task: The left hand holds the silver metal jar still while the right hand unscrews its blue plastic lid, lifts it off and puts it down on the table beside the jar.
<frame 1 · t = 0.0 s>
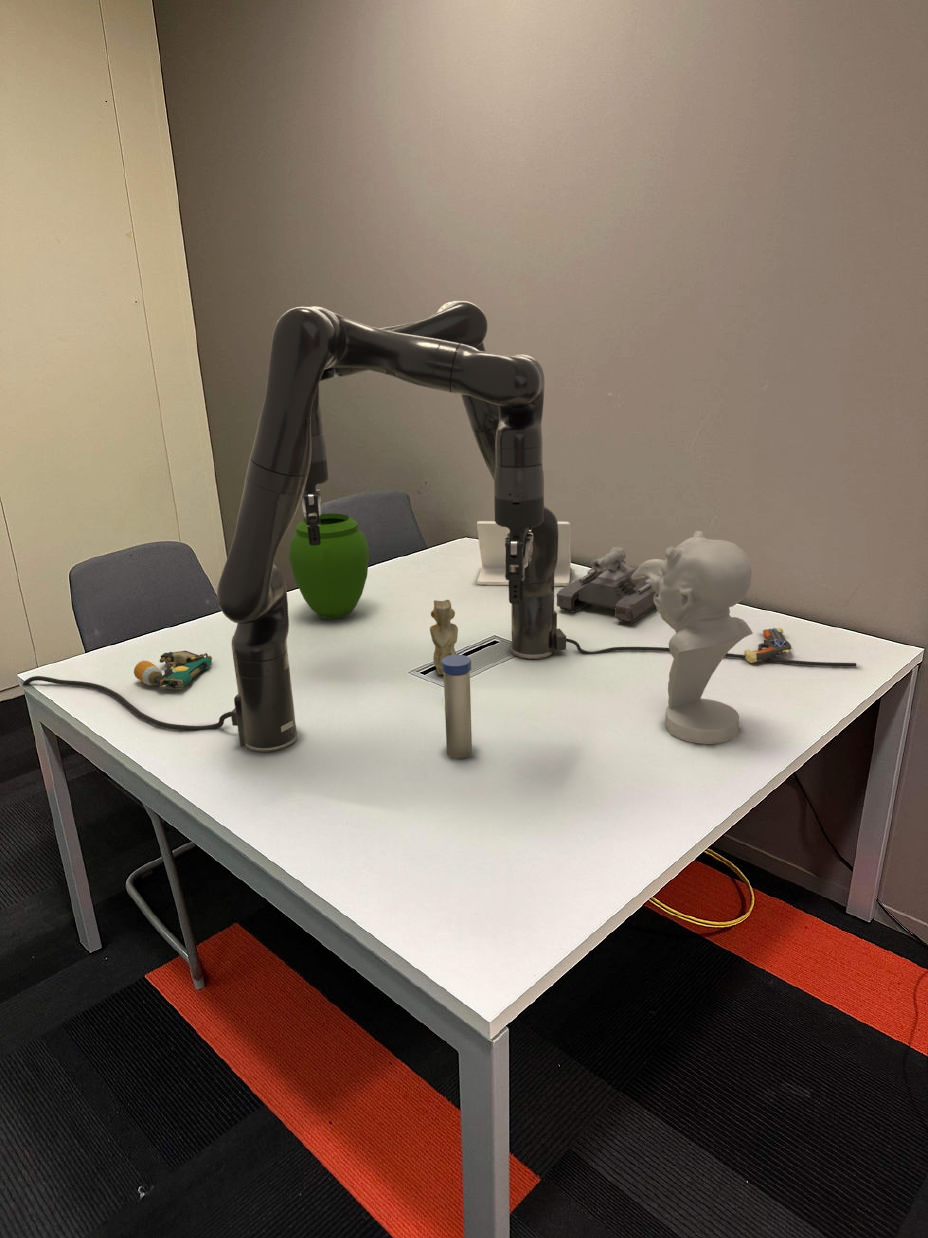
left hand: (519, 594, 135), 29 cm above the table, tool pointing down, fingers open, 8 cm apart
right hand: (314, 539, 170), 29 cm above the table, tool pointing down, fingers open, 8 cm apart
lid: (456, 662, 141), point 17 cm above the table, screwed on, not yet turned
vase: (334, 614, 214), on the table
jar: (459, 752, 147), on the table
bust sculpture: (681, 722, 155), on the table
sculpture: (445, 671, 180), on the table
toy: (615, 605, 214), on the table
tablet stand: (525, 575, 239), on the table
toy gun: (765, 649, 186), on the table
spray gun: (177, 676, 181), on the table
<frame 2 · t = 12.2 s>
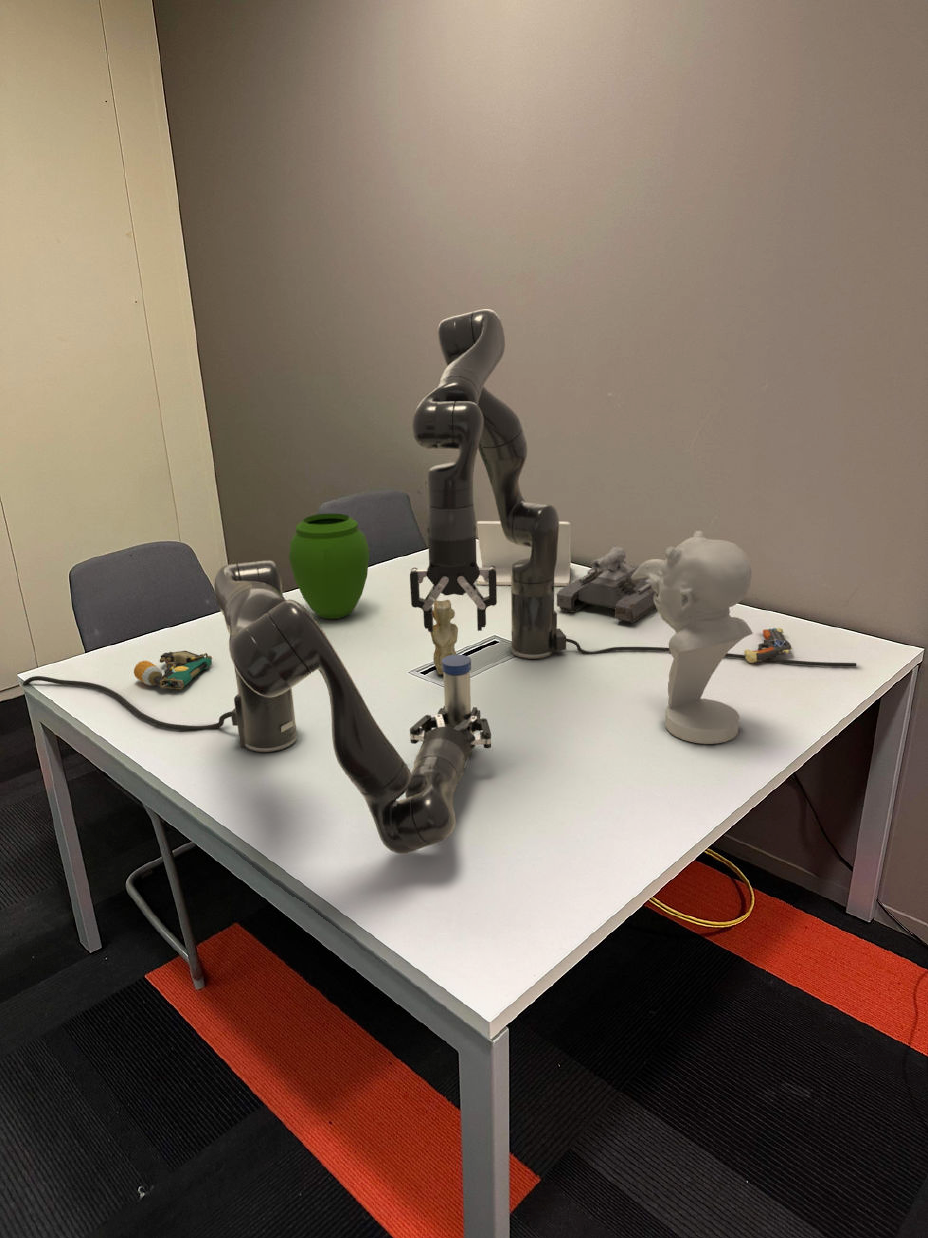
left hand: (460, 711, 147), 7 cm above the table, tool horizontal, fingers closed on jar, 4 cm apart
right hand: (455, 629, 139), 23 cm above the table, tool pointing down, fingers open, 7 cm apart
jar: (459, 752, 147), on the table, touching left hand
everything else where it was.
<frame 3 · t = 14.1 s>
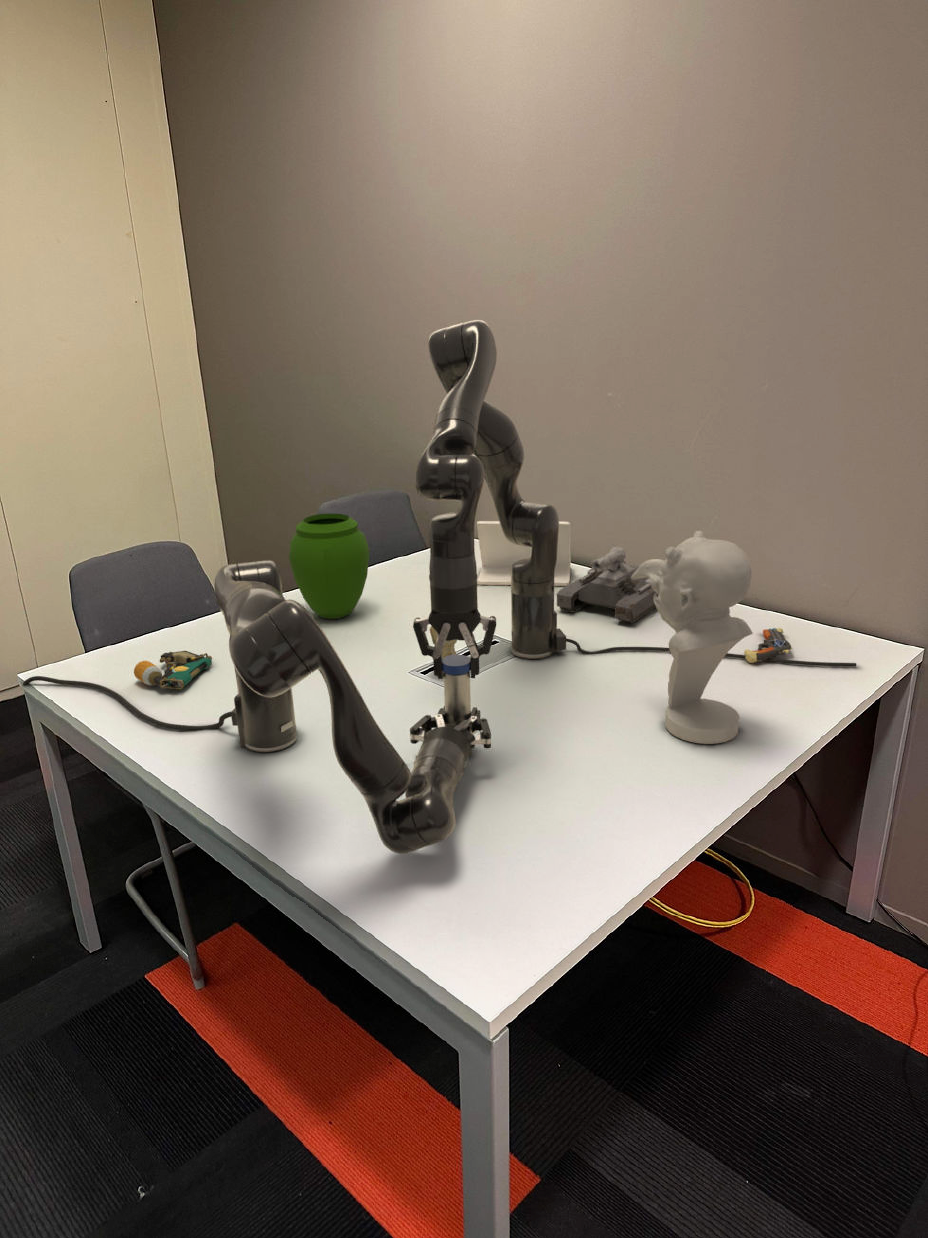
left hand: (460, 711, 147), 7 cm above the table, tool horizontal, fingers closed on jar, 4 cm apart
right hand: (456, 676, 142), 14 cm above the table, tool pointing down, fingers closed on lid, 4 cm apart
lid: (456, 662, 141), point 17 cm above the table, screwed on, not yet turned, touching right hand
jar: (459, 752, 147), on the table, touching left hand
everything else where it was.
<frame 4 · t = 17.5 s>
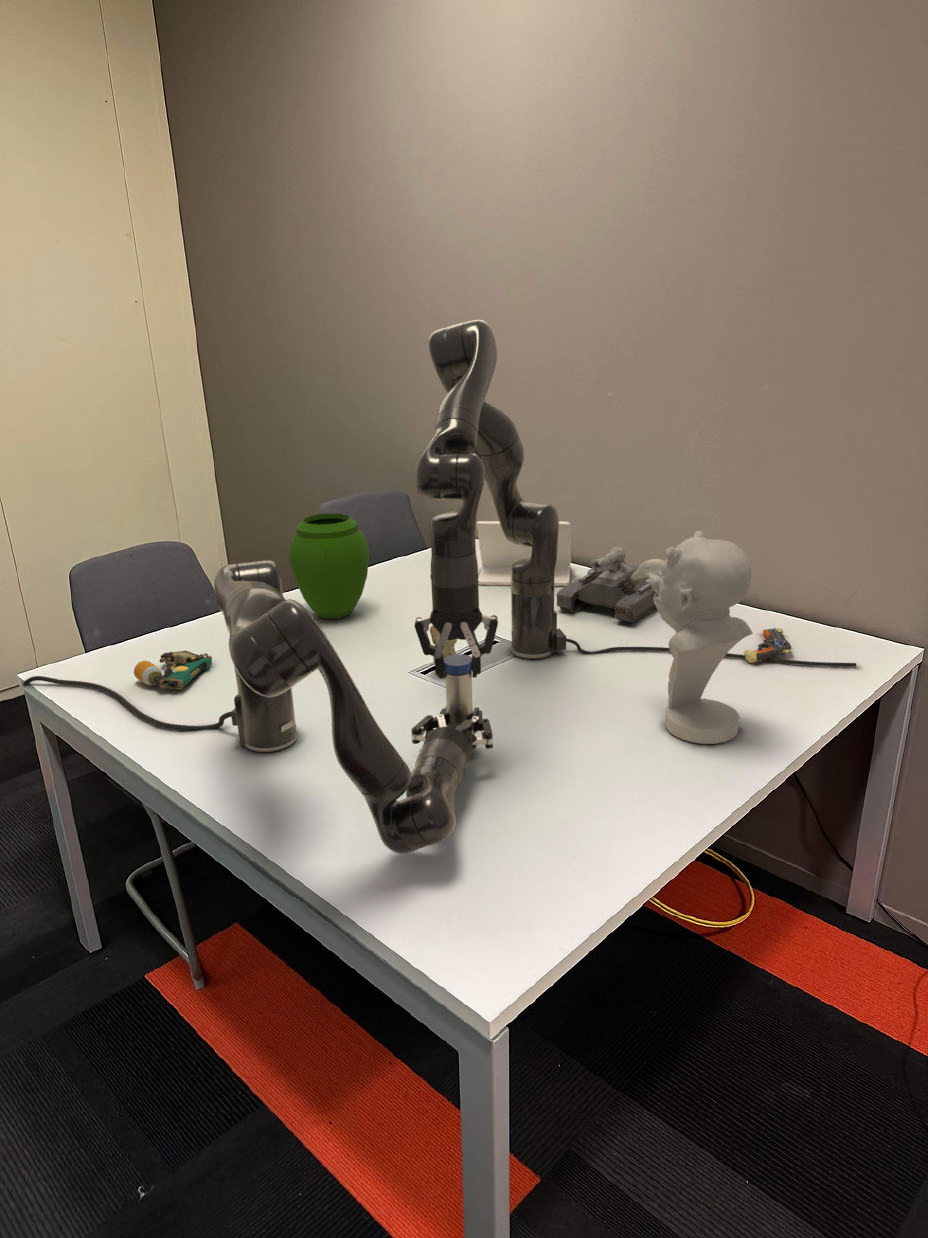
left hand: (462, 711, 147), 7 cm above the table, tool horizontal, fingers closed on jar, 4 cm apart
right hand: (458, 675, 142), 15 cm above the table, tool pointing down, fingers closed on lid, 4 cm apart
lid: (457, 661, 141), point 17 cm above the table, turned 80° so far, risen 0.1 cm, still on its thread, touching right hand
jar: (461, 753, 147), on the table, touching left hand
everything else where it was.
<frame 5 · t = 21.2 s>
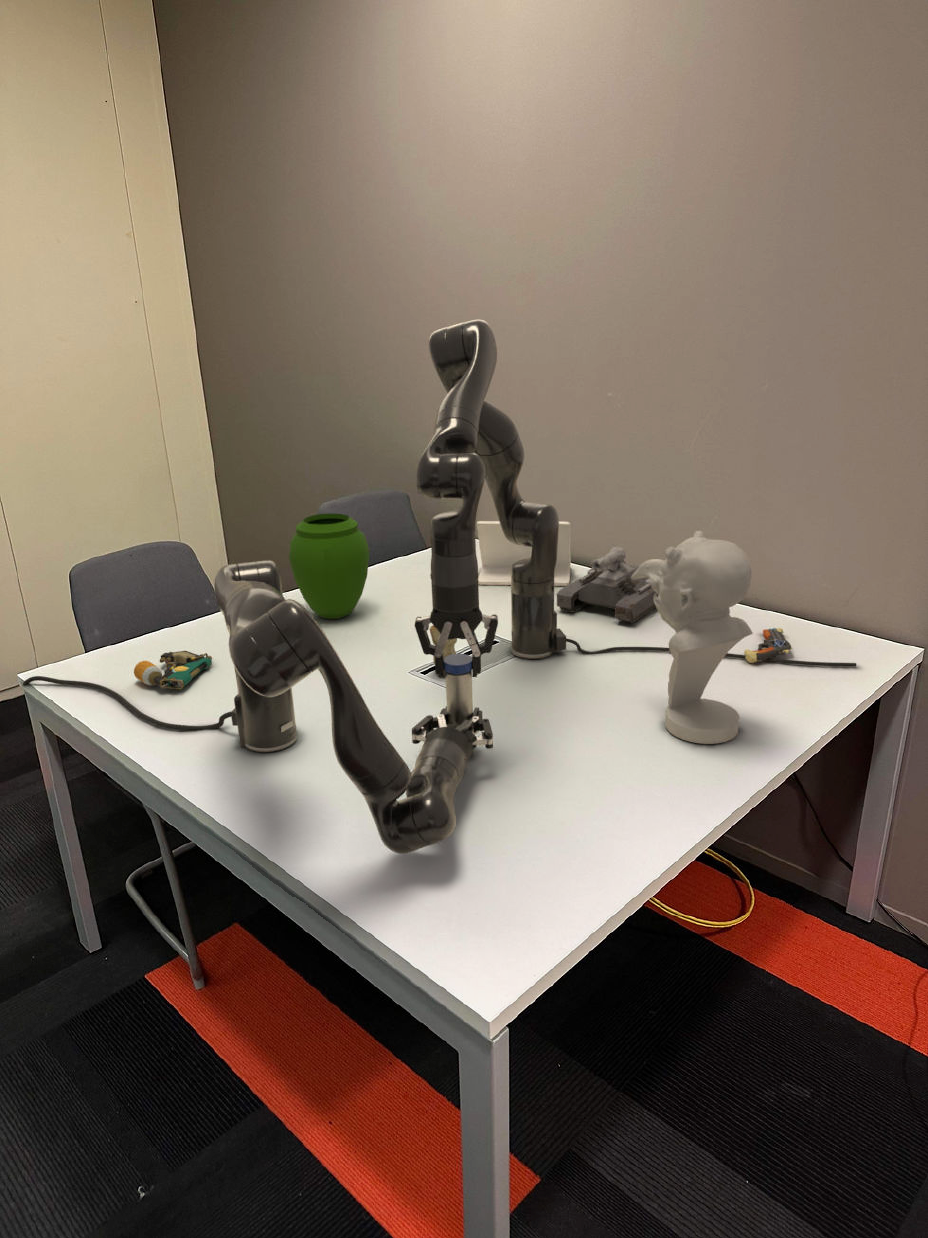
left hand: (463, 711, 147), 7 cm above the table, tool horizontal, fingers closed on jar, 4 cm apart
right hand: (458, 675, 142), 15 cm above the table, tool pointing down, fingers closed on lid, 4 cm apart
lid: (458, 661, 141), point 17 cm above the table, turned 159° so far, risen 0.2 cm, still on its thread, touching right hand
jar: (461, 753, 147), on the table, touching left hand
everything else where it was.
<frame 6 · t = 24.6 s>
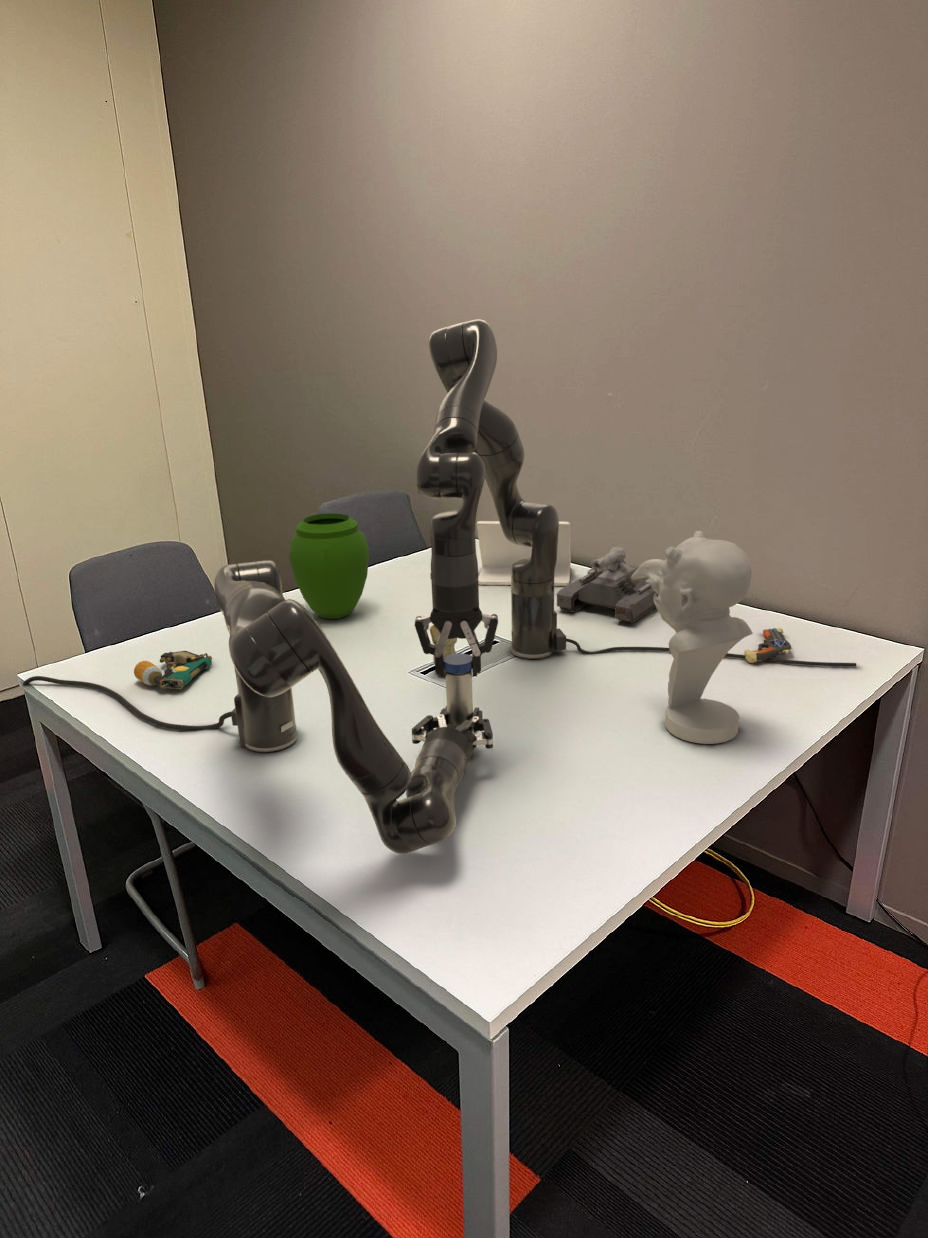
left hand: (463, 711, 147), 7 cm above the table, tool horizontal, fingers closed on jar, 4 cm apart
right hand: (458, 674, 142), 15 cm above the table, tool pointing down, fingers closed on lid, 4 cm apart
lid: (458, 660, 141), point 17 cm above the table, turned 239° so far, risen 0.3 cm, still on its thread, touching right hand
jar: (461, 753, 147), on the table, touching left hand
everything else where it was.
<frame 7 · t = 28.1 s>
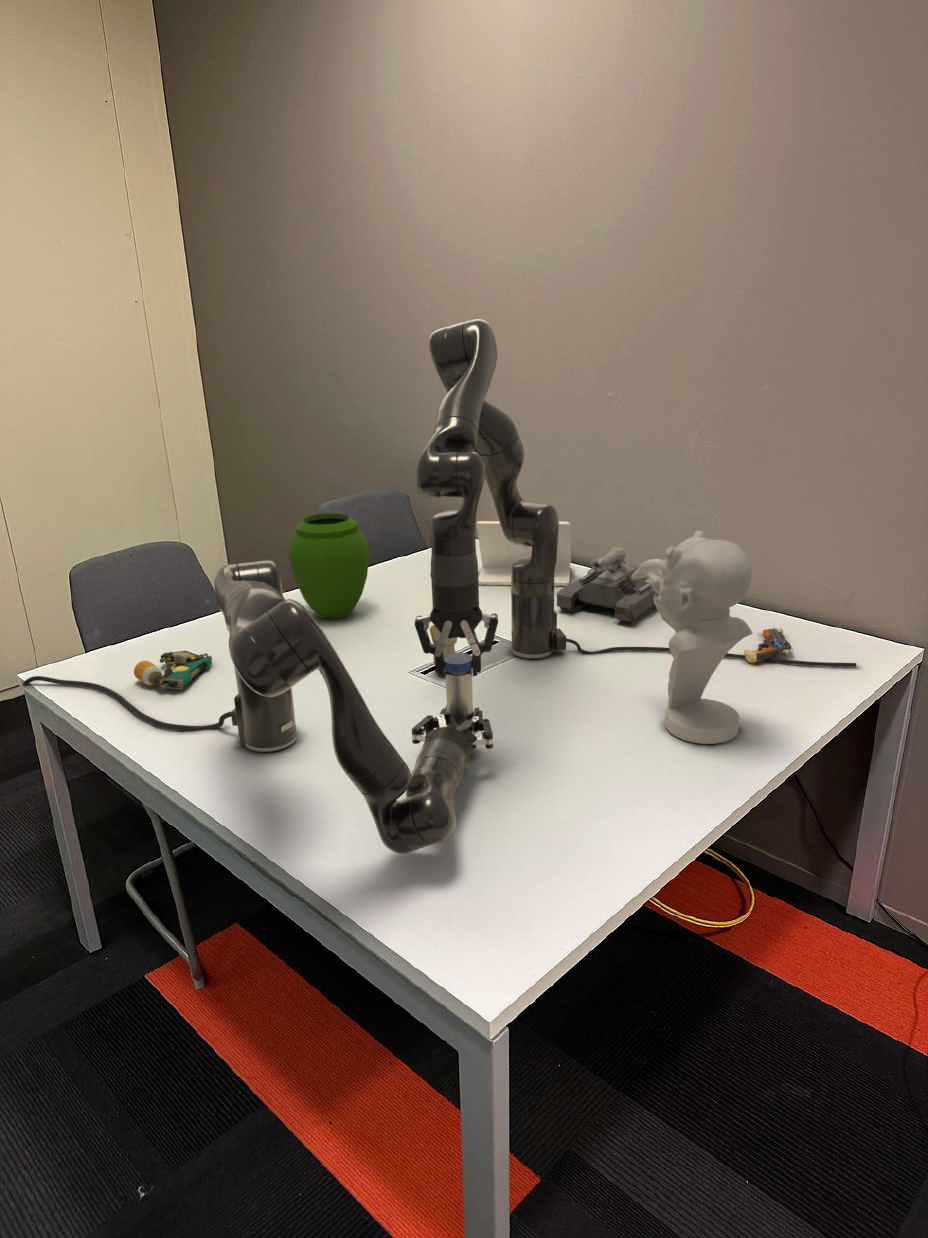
left hand: (463, 711, 147), 7 cm above the table, tool horizontal, fingers closed on jar, 4 cm apart
right hand: (458, 674, 142), 15 cm above the table, tool pointing down, fingers closed on lid, 4 cm apart
lid: (458, 660, 141), point 17 cm above the table, turned 318° so far, risen 0.4 cm, still on its thread, touching right hand
jar: (461, 753, 147), on the table, touching left hand
everything else where it was.
when the right hand's fingers open (0 cm above the table, at t = 37.7 s): lid drops 2 cm, point 1 cm above the table.
when the left hand's fingers open (7 cm above the table, at t = 38.8 s): jar stays where it is, on the table.
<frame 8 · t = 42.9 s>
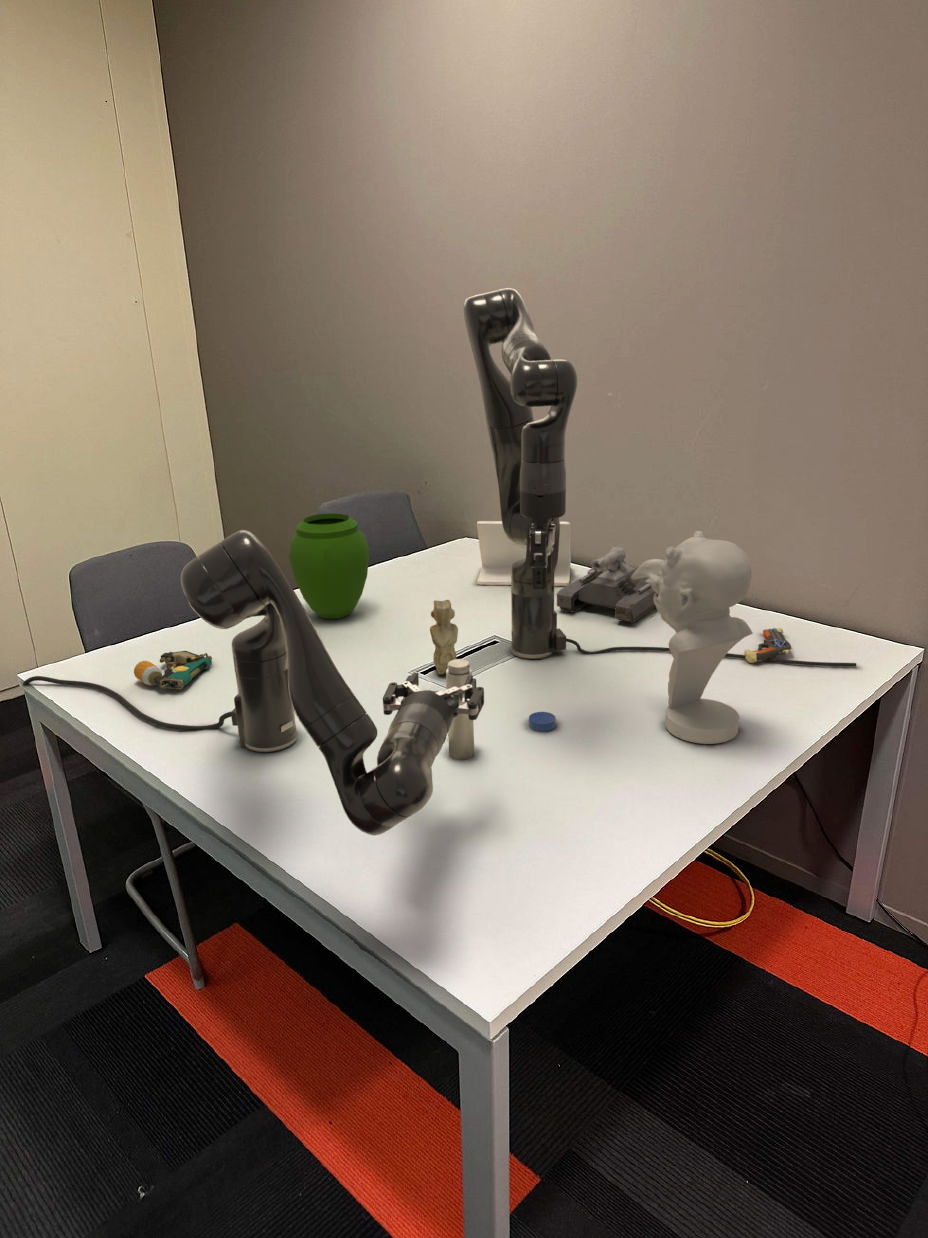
left hand: (443, 679, 131), 19 cm above the table, tool horizontal, fingers open, 8 cm apart
right hand: (542, 580, 146), 28 cm above the table, tool pointing down, fingers open, 8 cm apart
lid: (542, 719, 155), point 1 cm above the table, off its thread
jar: (461, 753, 147), on the table
everything else where it was.
at the end: lid came off its thread; lid point 1.2 cm above the table; the left hand is holding nothing; the right hand is holding nothing; jar tilted 0°; jar moved 0.4 cm from its start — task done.
